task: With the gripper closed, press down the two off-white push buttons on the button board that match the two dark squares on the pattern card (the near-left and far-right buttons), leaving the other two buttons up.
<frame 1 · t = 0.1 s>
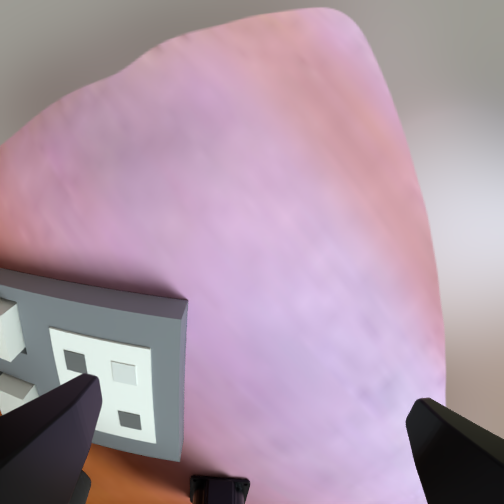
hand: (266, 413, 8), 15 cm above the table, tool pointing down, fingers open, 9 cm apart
travel mug: (67, 471, 29), on the table
button board: (47, 352, 23), on the table
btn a: (19, 399, 21), point 3 cm above the table, slide at 0.0 cm
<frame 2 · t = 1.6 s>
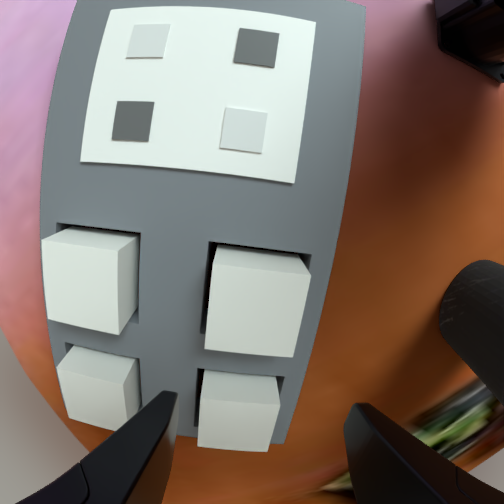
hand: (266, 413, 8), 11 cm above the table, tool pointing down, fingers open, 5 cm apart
btn b: (92, 276, 14), point 3 cm above the table, slide at 0.0 cm
travel mug: (472, 303, 20), on the table
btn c: (236, 408, 17), point 3 cm above the table, slide at 0.0 cm
button board: (184, 222, 17), on the table
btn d: (101, 386, 16), point 3 cm above the table, slide at 0.0 cm
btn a: (253, 299, 15), point 3 cm above the table, slide at 0.0 cm
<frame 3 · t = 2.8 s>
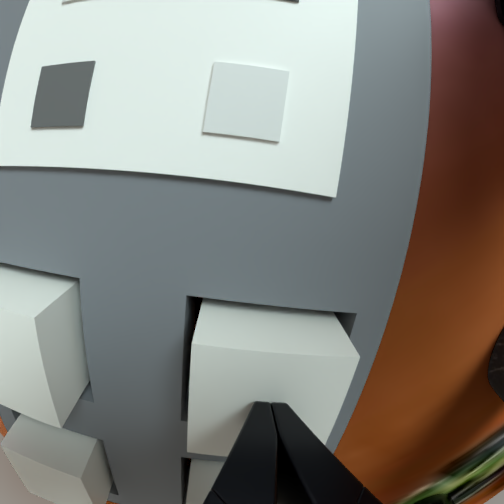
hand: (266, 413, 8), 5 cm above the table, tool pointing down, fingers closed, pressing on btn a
btn b: (21, 337, 8), point 3 cm above the table, slide at 0.0 cm
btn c: (236, 498, 11), point 3 cm above the table, slide at 0.0 cm
button board: (155, 253, 11), on the table
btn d: (62, 462, 10), point 3 cm above the table, slide at 0.0 cm
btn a: (261, 378, 9), point 3 cm above the table, slide at 0.3 cm, touching gripper
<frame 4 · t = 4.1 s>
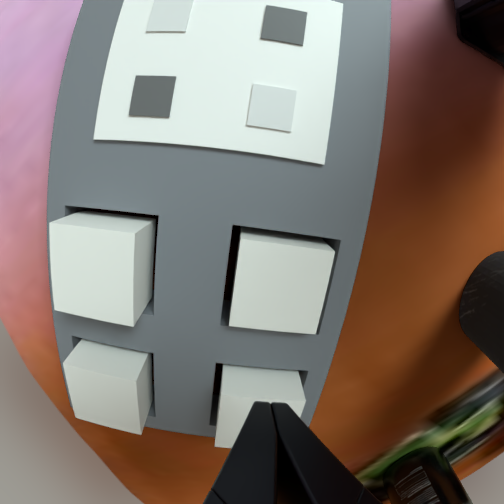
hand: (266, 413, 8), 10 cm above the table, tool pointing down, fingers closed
btn b: (103, 263, 13), point 3 cm above the table, slide at 0.0 cm
travel mug: (490, 295, 19), on the table
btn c: (256, 406, 16), point 3 cm above the table, slide at 0.0 cm
button board: (203, 207, 16), on the table
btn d: (111, 383, 15), point 3 cm above the table, slide at 0.0 cm
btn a: (277, 277, 15), point 2 cm above the table, slide at 1.3 cm
supplement bottle: (411, 464, 24), on the table
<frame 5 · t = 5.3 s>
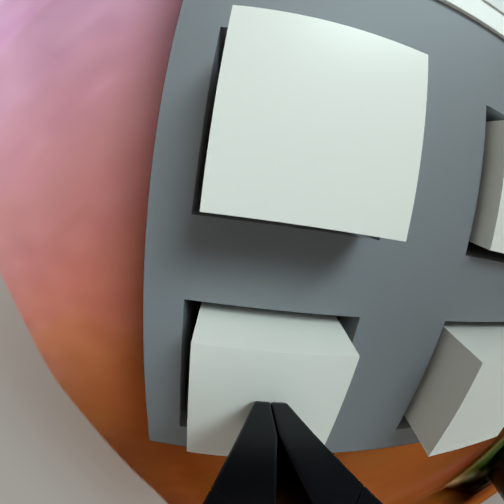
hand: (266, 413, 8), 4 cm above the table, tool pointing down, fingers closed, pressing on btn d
btn b: (309, 127, 7), point 3 cm above the table, slide at 0.0 cm
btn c: (470, 382, 9), point 3 cm above the table, slide at 0.0 cm
button board: (402, 98, 10), on the table
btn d: (261, 378, 9), point 3 cm above the table, slide at 0.6 cm, touching gripper
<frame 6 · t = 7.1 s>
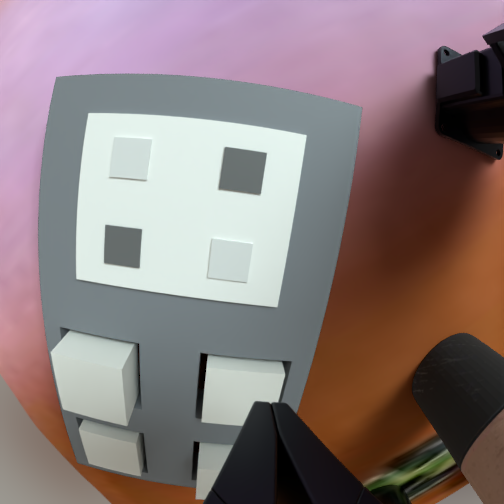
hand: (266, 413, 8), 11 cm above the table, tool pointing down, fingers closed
btn b: (98, 375, 15), point 3 cm above the table, slide at 0.0 cm
travel mug: (445, 369, 21), on the table
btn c: (227, 469, 18), point 3 cm above the table, slide at 0.0 cm
button board: (177, 321, 18), on the table
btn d: (115, 439, 18), point 2 cm above the table, slide at 1.3 cm
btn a: (240, 383, 17), point 2 cm above the table, slide at 1.3 cm
supplement bottle: (375, 498, 26), on the table
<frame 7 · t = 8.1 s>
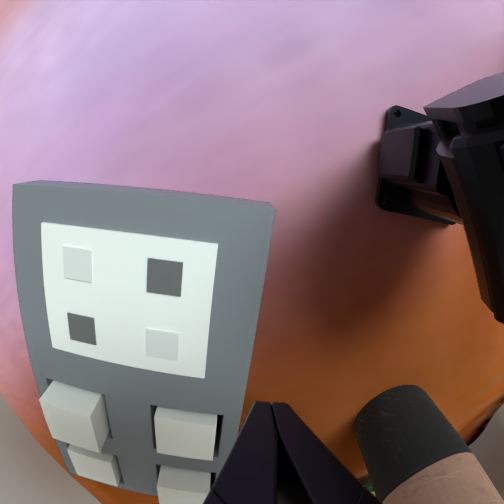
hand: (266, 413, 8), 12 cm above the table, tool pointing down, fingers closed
btn b: (77, 413, 18), point 3 cm above the table, slide at 0.0 cm
travel mug: (390, 413, 23), on the table
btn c: (185, 487, 20), point 3 cm above the table, slide at 0.0 cm
button board: (137, 372, 21), on the table
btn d: (97, 456, 21), point 2 cm above the table, slide at 1.3 cm
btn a: (187, 424, 20), point 2 cm above the table, slide at 1.3 cm
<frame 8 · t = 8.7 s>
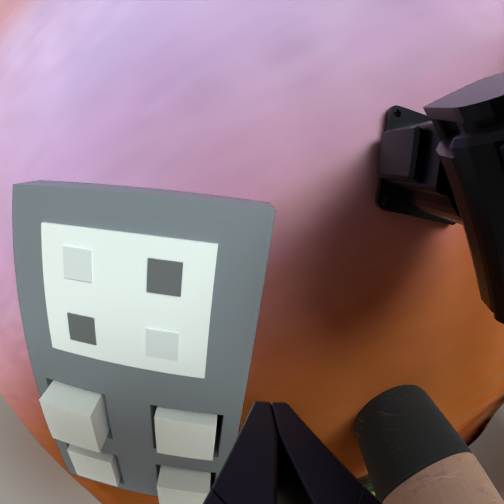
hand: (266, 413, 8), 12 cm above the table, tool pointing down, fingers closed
btn b: (77, 413, 18), point 3 cm above the table, slide at 0.0 cm
travel mug: (390, 413, 23), on the table
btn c: (185, 487, 20), point 3 cm above the table, slide at 0.0 cm
button board: (137, 372, 21), on the table
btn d: (97, 456, 21), point 2 cm above the table, slide at 1.3 cm
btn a: (187, 424, 20), point 2 cm above the table, slide at 1.3 cm
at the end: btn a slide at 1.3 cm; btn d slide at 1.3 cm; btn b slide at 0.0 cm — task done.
